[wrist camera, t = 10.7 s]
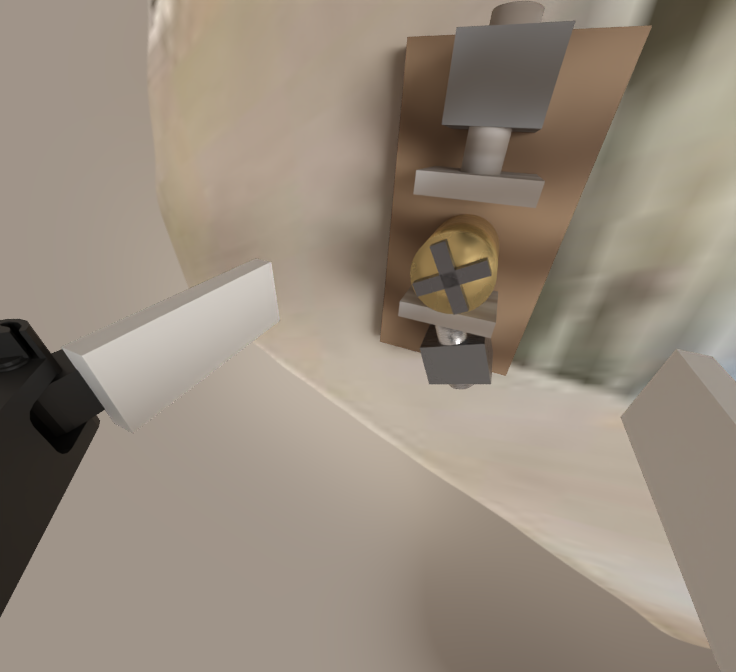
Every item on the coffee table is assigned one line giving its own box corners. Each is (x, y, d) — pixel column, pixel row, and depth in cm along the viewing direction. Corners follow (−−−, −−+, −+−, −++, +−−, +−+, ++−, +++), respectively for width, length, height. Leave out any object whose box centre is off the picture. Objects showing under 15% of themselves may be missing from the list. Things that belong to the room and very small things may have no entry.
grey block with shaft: (425, 300, 25) (413, 323, 22) (484, 292, 23) (480, 316, 20) (439, 361, 28) (430, 389, 25) (493, 359, 26) (491, 390, 22)
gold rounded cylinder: (421, 230, 22) (395, 254, 17) (489, 201, 20) (482, 220, 15) (442, 288, 24) (424, 326, 19) (507, 269, 22) (506, 307, 16)
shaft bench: (413, 44, 18) (376, 2, 13) (640, 35, 15) (712, -27, 10) (384, 334, 31) (359, 372, 25) (505, 365, 27) (505, 417, 22)
